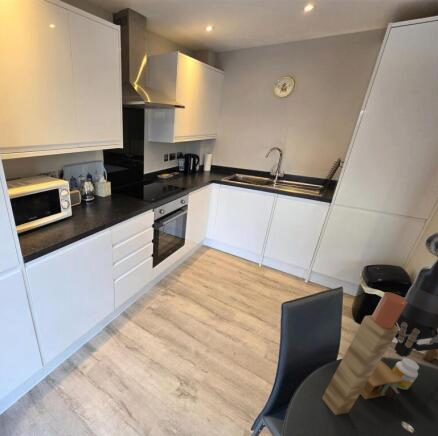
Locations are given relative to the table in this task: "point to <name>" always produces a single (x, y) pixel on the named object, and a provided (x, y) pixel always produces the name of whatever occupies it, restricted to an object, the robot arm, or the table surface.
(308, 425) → the table surface
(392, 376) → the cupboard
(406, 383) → the supplement bottle
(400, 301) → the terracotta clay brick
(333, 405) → the column
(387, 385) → the green toy piece
